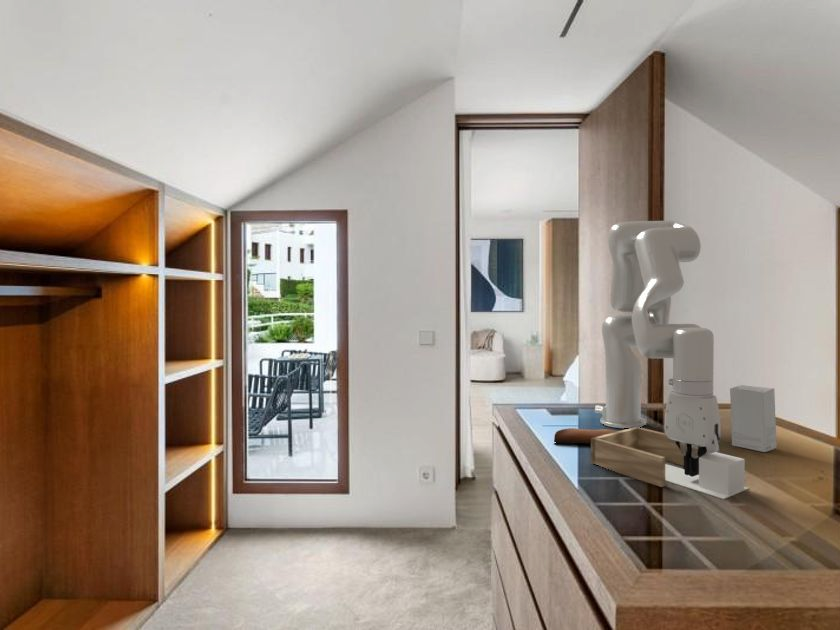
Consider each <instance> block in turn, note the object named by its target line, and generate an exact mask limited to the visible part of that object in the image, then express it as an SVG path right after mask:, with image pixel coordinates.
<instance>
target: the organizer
mask: <svg viewBox="0 0 840 630" xmlns="http://www.w3.org/2000/svg"><path fill="white" fill-rule="evenodd" d="M616 431H617V432H614V433H610V434H606V435H602V436H598V437H594V438H591V444H590V464H591V463H593V464H596V465H599V466H601V467H600V468H602V467H604V468H603V469H605V468H606V470H608V469H609V470H608V471H611V470H612V472H614V471H615V472H614V473H618V474H620V475H623V476H625V477H626V476H627V477H630V478H633V479H635V480H639V481H643V482H645V483H648V484H651V485H653V486H657V487H660V488H664V487H666V481H665V464H666V462H668V461H669V462H670V463H673V464H676V465H680V466H683V467H684V455H682V454H681V450H680V449H679V447H678V446H677V445H676V444H674V443H672V442H670V441H669V440H668V437H667V436H666V435H665V432H661V431H657V430H652V429H648V428H644V427H641V428H640V427H633V428H629V429H622V430H616ZM708 454H709V452H707V453H706V454H704V456H705V455H708ZM669 462H668V463H669ZM593 464H592V465H593ZM596 465H595V466H596ZM599 466H598V467H599Z"/></svg>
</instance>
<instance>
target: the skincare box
mask: <svg viewBox="0 0 840 630" xmlns="http://www.w3.org/2000/svg"><path fill="white" fill-rule="evenodd" d="M729 393H730V394H729V397H730V398H729V399H730V401H729V402H730V422H731V423H730V424H731V445H732V446H733V447H737V448H743V449H748V450H753V451H757V452H762V453H767V452H769V451H773V450H776V449H777V422H776V419H777V418H776V396H775V388H773V387H761V386H752V385H745V384H741V385H737V386H734V387H731V388H729ZM732 446H731V447H732Z"/></svg>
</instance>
